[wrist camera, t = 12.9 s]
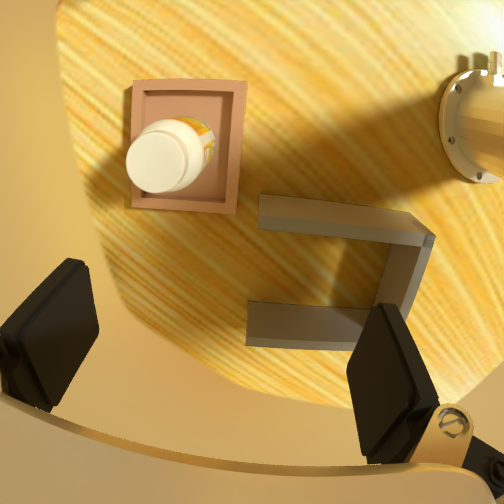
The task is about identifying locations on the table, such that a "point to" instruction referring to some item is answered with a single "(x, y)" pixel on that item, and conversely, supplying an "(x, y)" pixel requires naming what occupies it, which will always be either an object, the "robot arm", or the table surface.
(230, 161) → the tray
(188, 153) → the supplement bottle
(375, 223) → the bay
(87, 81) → the table surface
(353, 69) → the table surface
